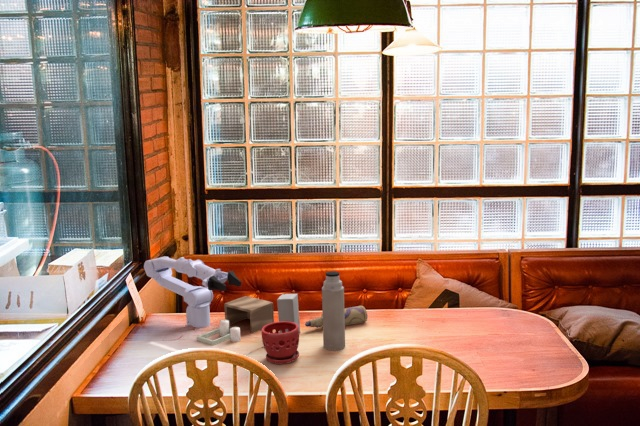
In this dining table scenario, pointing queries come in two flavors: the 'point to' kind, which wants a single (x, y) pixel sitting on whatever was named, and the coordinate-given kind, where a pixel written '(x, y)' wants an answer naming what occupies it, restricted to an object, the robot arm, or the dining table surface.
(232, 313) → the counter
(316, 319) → the decorative bottle
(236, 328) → the white rounded piece
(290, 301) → the skincare box
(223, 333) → the pale pink rounded cylinder
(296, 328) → the plant pot
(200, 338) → the tray
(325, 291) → the thermos bottle
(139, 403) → the dining table surface
